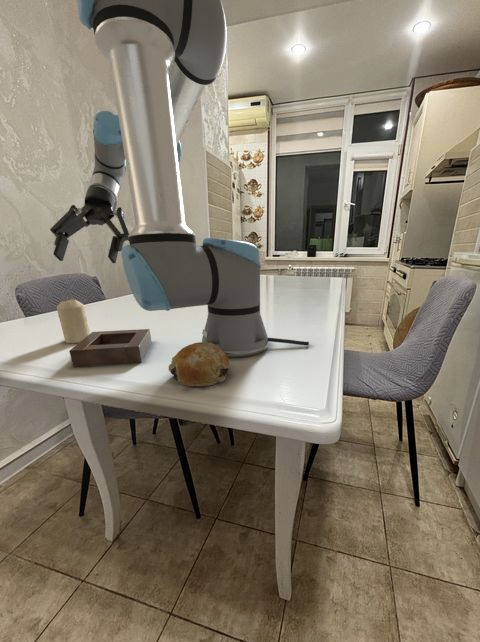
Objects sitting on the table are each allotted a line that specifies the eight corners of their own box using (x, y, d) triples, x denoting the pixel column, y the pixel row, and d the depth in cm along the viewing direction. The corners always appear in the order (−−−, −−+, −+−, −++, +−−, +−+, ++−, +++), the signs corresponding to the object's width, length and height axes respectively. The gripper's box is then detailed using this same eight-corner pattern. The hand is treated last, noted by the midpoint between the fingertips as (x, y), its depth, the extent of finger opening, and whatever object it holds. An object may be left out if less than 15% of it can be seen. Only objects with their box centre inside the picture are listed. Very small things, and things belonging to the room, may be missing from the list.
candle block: (151, 342, 70) (149, 328, 69) (141, 362, 59) (138, 346, 57) (95, 346, 68) (92, 331, 67) (73, 367, 56) (68, 350, 55)
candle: (76, 336, 75) (67, 297, 72) (95, 337, 74) (87, 298, 71) (59, 343, 70) (49, 301, 66) (80, 344, 69) (70, 302, 66)
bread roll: (208, 409, 49) (225, 372, 46) (154, 381, 49) (168, 341, 46) (226, 383, 58) (242, 350, 55) (181, 359, 58) (194, 325, 55)
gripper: (151, 209, 86) (139, 269, 78) (65, 204, 85) (45, 265, 78) (142, 187, 79) (128, 251, 71) (48, 182, 78) (24, 246, 71)
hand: (84, 258), depth 75 cm, fingers open, 13 cm apart
